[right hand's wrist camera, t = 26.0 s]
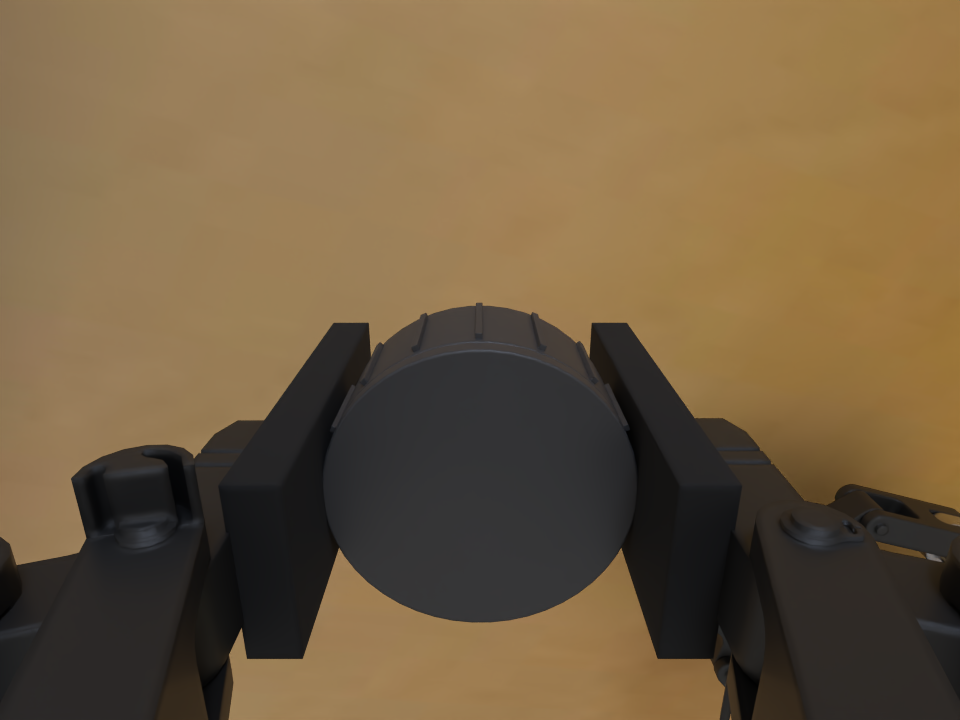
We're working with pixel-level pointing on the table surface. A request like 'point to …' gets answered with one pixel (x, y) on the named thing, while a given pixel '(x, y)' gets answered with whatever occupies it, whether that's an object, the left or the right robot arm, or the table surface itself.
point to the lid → (480, 467)
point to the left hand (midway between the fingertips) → (703, 536)
